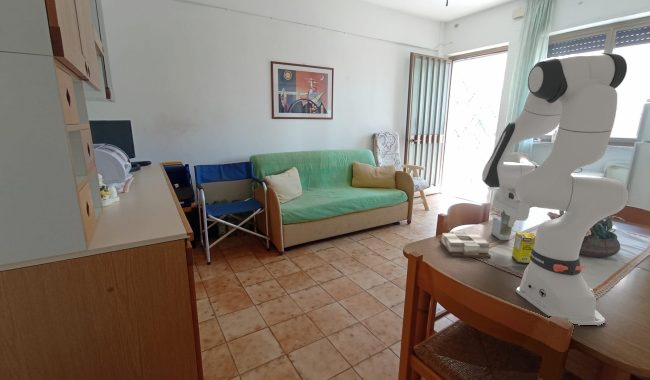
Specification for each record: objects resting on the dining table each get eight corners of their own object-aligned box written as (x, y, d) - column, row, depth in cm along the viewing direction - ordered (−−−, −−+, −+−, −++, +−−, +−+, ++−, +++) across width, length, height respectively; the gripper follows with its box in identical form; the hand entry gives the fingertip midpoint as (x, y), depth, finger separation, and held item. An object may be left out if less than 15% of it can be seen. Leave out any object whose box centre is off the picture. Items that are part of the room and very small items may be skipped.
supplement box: (534, 265, 114) (539, 238, 111) (517, 263, 115) (522, 237, 113) (527, 258, 120) (532, 233, 117) (511, 257, 121) (515, 231, 118)
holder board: (491, 257, 120) (492, 246, 119) (452, 256, 120) (453, 245, 119) (473, 241, 135) (475, 231, 134) (439, 241, 136) (440, 230, 135)
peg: (512, 235, 123) (516, 212, 121) (502, 235, 123) (506, 212, 121) (507, 232, 127) (510, 209, 125) (497, 231, 127) (501, 209, 125)
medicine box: (509, 240, 138) (512, 222, 136) (499, 240, 138) (502, 222, 136) (500, 233, 145) (502, 217, 143) (490, 233, 145) (493, 216, 143)
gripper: (491, 186, 131) (486, 216, 134) (517, 197, 111) (512, 232, 114) (505, 187, 131) (501, 217, 134) (535, 198, 111) (529, 233, 114)
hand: (506, 224), depth 124 cm, fingers closed on peg, 4 cm apart
